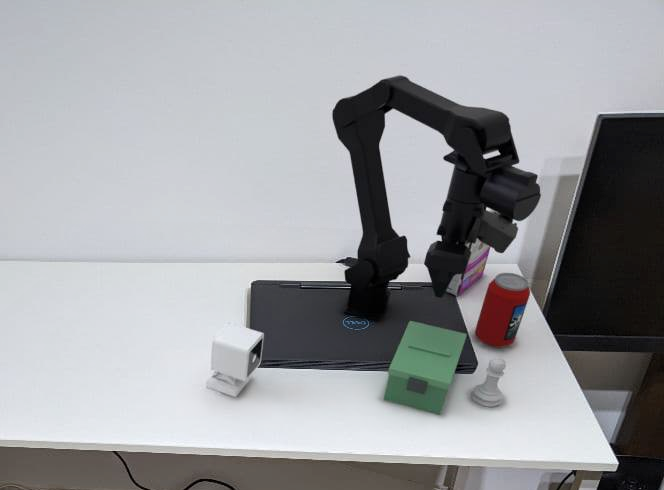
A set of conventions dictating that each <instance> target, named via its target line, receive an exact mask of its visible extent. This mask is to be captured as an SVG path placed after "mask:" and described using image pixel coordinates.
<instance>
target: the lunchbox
mask: <svg viewBox="0 0 664 490" xmlns="http://www.w3.org/2000/svg"><path fill="white" fill-rule="evenodd" d="M467 336H468V333H464V332H460V331H456V330H451V329H448V328H443V327H439V326H435V325H430V324H427V323H422V322H417V321H413V320H409V322H408V324H407V326H406V328H405V331H404V333H403V334H402V338H401V340H400V342H399V344H398V346H397V349H396V351H395V354H394V356H393V358H392V360H391V362H390V365H389V367H388V371H387V375H388V378H387V382H386V387H385V391H384V395H383V401H386V402H389V403H390V402H391V403H393V404H398V405H402V406H405V407H409V408H412V409H417V410H419V411H420V410H421V411H425V412H427V413H432V414H434V415H435V414H436V415H439V416H440V415H442V411H443V408H444V405H445V402H446V399H447V396H448V393H449V390H450V387H451V386H452V385H451V384H452V381H453V378H454V375H455V372H456V370H457V366H458V363H459V360H460V357H461V354H462V351H463V348H464V346H465V342H466V339H467Z"/></svg>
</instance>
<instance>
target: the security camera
mask: <svg viewBox="0 0 664 490" xmlns="http://www.w3.org/2000/svg"><path fill="white" fill-rule="evenodd" d="M264 341H265V333H264V332H262V331H259V330H258V331H257V330H255V329H252V328H249V327H245V326H242V325H239V324H236V323H232V322H228V323H227V324H226V325H225V326H224V327H223V328H222V329H221V330H220V331H219V332H218V333H217V334H216V335H215V336H214V338H213V340H212V343H211V344H212V345H211V355H210V356H211V357H210V371H213V372H214V373H213V372H212V373H211V374H210V375H209V377H208V378H207V379H206V382H205V383H206V384H205V386H206V388H208V389H211V390H214V391H216V392H219V393H222V394H225V395H228V396H231V397H237V396H238V395H239V393H241V391H242V390H243V389H244V387H246V385H247V384H248V383H249V382H250V379H251V376H252V375H253V374H254V373H255V372H256V370H257V369H258V368H259V367H260V365H261V363H262V357H263V348H264Z"/></svg>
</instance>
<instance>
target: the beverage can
mask: <svg viewBox="0 0 664 490" xmlns="http://www.w3.org/2000/svg"><path fill="white" fill-rule="evenodd" d="M529 283H530V282H529V280H528V279H527V278H526V277H524V276H522V275H520V274H517V273H513V272H501V273H498V274H497V275H496V276H495V277H494V278H493V279H492V280H491V281H490V282H489V283H488V286H487V289H486V292H485V294H484V298H483V301H482V305H481V309H480V313H479V316H478V319H477V322H476V325H475V329H474V335H475V337H476V338H477V339H478V340H479V341H480V342H481V343H483V344H484V345H487V346H489V347H493V348H502V347H508V346H511V345H512V344H513V343H514V342H515V340H516V337H517V334H518V332H519V329H520V326H521V323H522V319H523V317H524V314H525V311H526V308H527V306H528V302H529V299H530V295H531V289H530V286H529V285H530V284H529Z"/></svg>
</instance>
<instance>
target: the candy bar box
mask: <svg viewBox="0 0 664 490" xmlns="http://www.w3.org/2000/svg"><path fill="white" fill-rule="evenodd" d="M486 210H487V211H489V212H491V213H493V212H494V210H492V209H490V208H486ZM495 212H496V211H495ZM466 246H467V247H468V248H469V250H470V251H471V252H472V253H471V257H470V260H469V263H468V266H467V269H466V272H465V273H463V274H457V275H455V276H454V277H453V278H452V280H451V282H450V284H449V286H448V287H449V288H451V289H452V290H450V289H447V290H446V292H445V293H446V294H449V295H453V296H455V297H459V296H460V295H462V294H463V293H464V292H465V291H466V290H468V289H469V287H471V286H472V285H473V284H475V282H477V281H478V280H479V279H480V278H481V277H482V276H483V275H484V272H485V268H486V265H487V262H488V258H489V253H490V249H491V247H490V246H488V245H486V244H485V243H483V242H481V241H480V240H479V239H478V238H477V240H476V243H475V244H474V243H468V244H466Z"/></svg>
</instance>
